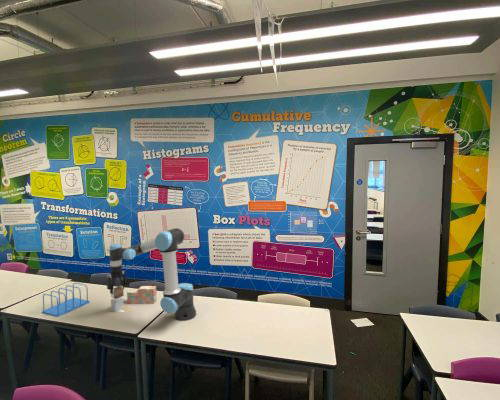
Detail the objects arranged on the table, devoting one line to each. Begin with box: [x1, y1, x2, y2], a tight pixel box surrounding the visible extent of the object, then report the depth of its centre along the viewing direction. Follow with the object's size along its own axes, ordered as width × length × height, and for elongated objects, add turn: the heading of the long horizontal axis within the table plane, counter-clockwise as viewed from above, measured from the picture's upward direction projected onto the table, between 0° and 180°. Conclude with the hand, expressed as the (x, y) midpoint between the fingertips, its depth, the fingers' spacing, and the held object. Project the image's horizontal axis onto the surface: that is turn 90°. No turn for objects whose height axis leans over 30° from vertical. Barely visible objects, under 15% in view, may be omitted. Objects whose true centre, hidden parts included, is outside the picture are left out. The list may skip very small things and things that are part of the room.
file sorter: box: [41, 282, 90, 318], centre depth 206 cm, size 25×17×15 cm
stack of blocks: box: [126, 285, 157, 305], centre depth 216 cm, size 21×6×12 cm, turn 90°
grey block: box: [110, 297, 124, 313], centre depth 204 cm, size 6×6×8 cm
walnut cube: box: [113, 285, 125, 299], centre depth 198 cm, size 6×6×6 cm
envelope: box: [108, 303, 135, 313], centre depth 201 cm, size 16×16×1 cm
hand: (117, 295), depth 198 cm, fingers closed on walnut cube, 6 cm apart
